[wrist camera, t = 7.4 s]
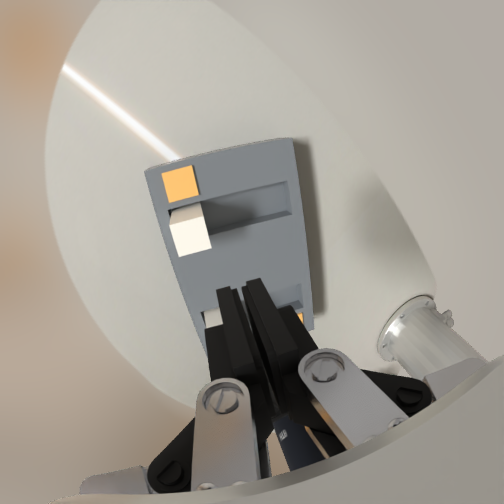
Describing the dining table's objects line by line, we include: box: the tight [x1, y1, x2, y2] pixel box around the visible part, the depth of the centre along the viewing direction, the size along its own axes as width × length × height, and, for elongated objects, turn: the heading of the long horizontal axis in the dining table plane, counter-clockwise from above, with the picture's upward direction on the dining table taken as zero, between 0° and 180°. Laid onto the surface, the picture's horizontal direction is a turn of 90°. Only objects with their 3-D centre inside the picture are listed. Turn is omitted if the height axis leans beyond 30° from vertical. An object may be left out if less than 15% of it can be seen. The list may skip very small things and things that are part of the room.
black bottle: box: [273, 415, 326, 471], centre depth 27 cm, size 6×6×30 cm
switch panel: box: [144, 138, 314, 358], centre depth 26 cm, size 12×20×3 cm, turn 11°
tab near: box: [169, 202, 212, 257], centre depth 21 cm, size 2×2×5 cm
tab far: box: [204, 307, 223, 328], centre depth 25 cm, size 2×2×5 cm
